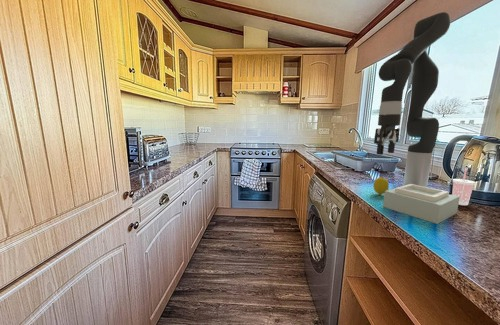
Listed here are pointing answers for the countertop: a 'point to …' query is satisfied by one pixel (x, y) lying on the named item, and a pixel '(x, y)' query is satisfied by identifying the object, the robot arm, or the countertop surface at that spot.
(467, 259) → the countertop surface
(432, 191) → the stand
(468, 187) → the beverage cup
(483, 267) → the countertop surface
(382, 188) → the lemon
